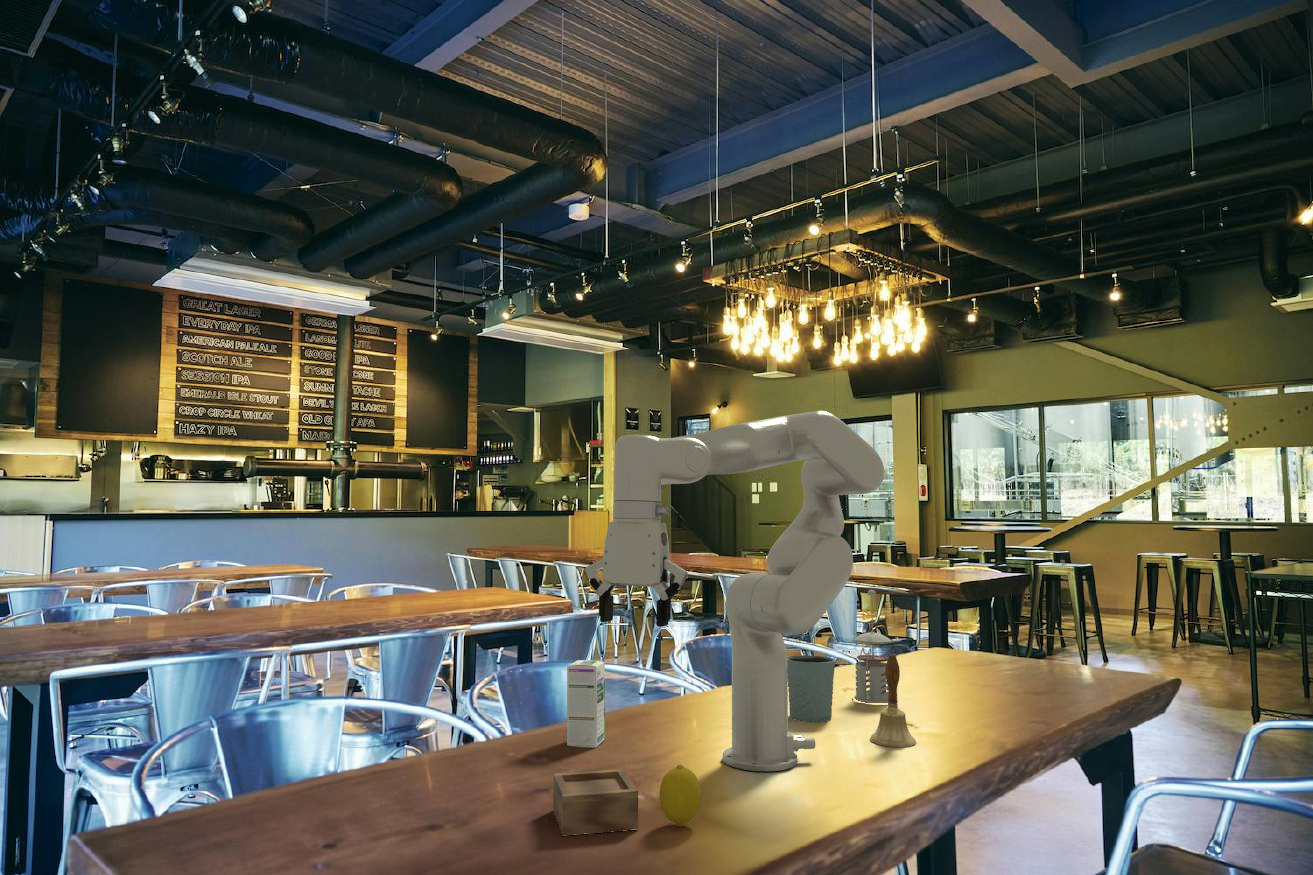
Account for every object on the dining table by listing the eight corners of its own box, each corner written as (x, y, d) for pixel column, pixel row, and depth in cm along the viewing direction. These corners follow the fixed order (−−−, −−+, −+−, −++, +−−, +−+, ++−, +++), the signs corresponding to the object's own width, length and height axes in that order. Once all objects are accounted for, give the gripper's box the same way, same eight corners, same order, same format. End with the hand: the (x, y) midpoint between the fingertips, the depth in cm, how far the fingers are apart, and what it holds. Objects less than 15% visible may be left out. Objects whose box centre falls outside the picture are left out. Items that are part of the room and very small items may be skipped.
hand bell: (924, 741, 155) (922, 654, 157) (903, 750, 149) (901, 659, 151) (883, 733, 161) (881, 649, 163) (861, 741, 155) (860, 654, 157)
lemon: (657, 819, 114) (657, 759, 115) (697, 818, 114) (697, 758, 115) (661, 834, 109) (661, 771, 109) (703, 833, 109) (703, 770, 110)
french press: (901, 699, 191) (899, 589, 194) (886, 709, 182) (883, 592, 184) (859, 694, 197) (858, 587, 199) (842, 703, 187) (841, 590, 189)
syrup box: (596, 748, 149) (598, 665, 151) (565, 746, 150) (566, 664, 152) (605, 740, 155) (606, 660, 156) (574, 738, 156) (575, 658, 157)
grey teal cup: (781, 720, 171) (780, 660, 172) (792, 709, 180) (791, 653, 182) (830, 725, 167) (830, 663, 168) (839, 714, 177) (838, 656, 178)
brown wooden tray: (622, 804, 120) (623, 768, 120) (638, 830, 110) (638, 790, 110) (553, 810, 117) (553, 773, 118) (562, 836, 108) (563, 796, 108)
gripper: (696, 514, 132) (694, 625, 130) (599, 513, 139) (596, 617, 137) (678, 513, 125) (675, 630, 123) (577, 512, 132) (573, 622, 130)
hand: (634, 623), depth 130 cm, fingers open, 9 cm apart
